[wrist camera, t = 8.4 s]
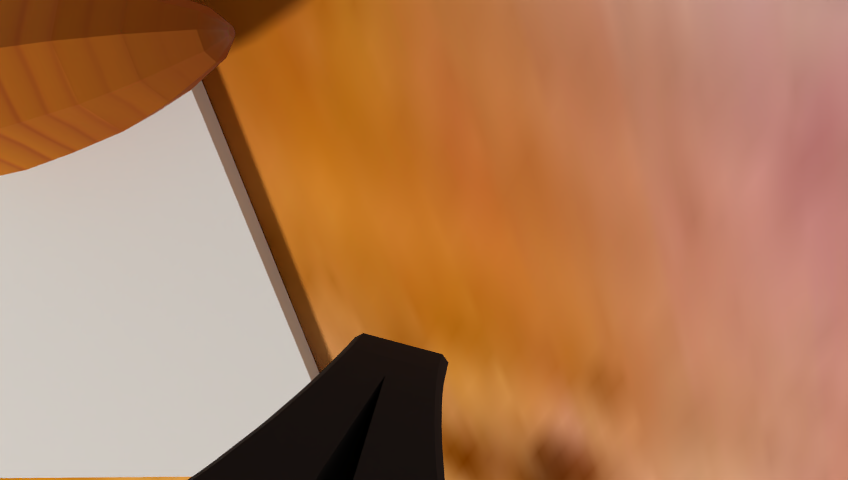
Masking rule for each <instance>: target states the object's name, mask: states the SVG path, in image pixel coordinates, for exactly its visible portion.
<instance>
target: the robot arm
mask: <svg viewBox="0 0 848 480" xmlns="http://www.w3.org/2000/svg"><path fill="white" fill-rule="evenodd" d="M447 366H448V362H447V360H446V359H445V357H444V356H443V355H442V354H439V353H435V352H432V351H428V350H424V349H420V348H417V347H413V346H409V345H405V344H402V343H398V342H394V341H390V340H387V339H383V338H379V337H375V336H372V335H368V334H364V333H363V334H361V335H359V336H357V337H355V338H354V339H353V340H352V341H351V342H350V343H349V345H348V346H347V347H346V348H345V349H344V350H343V351H342V352H341V353H340V354H339V355H338V356H337V357H336V358H335V359H334V360H333V361H332V362H331V363H330V364H329V365H328V366H327V367H326V368H325V369H324V370H323V371H322V372H320V373H319V374H318V375H317V376H316V377H315V378H314V379H313V380H312V381H311V382H310V383H309V384H308V385H306V386H305V387H304V388H303V389H302V390H301V391H300V392H299V393H297V394H296V395H295V396H294V397H293V398H292V399H290V400H289V401H288V402H287V403H286V404H285V405H284V406H282V407H281V408H280V409H279V410H278V411H277V412H275V413H274V414H273V415H272V416H271V417H270V418H268V419H267V420H266V421H265V422H264V423H262V424H261V425H260V426H259V427H257V428H256V429H255V430H254V431H252V432H251V433H250V434H248V435H247V436H246V437H245V438H243V439H242V440H241V441H239V442H238V443H237V444H235V445H234V446H233V447H232V448H230V449H229V450H228V451H226V452H225V453H224V454H222V455H221V456H220V457H219V458H217V459H216V460H215V461H213V462H212V463H211V464H209V465H208V466H206V467H205V468H204V469H202V470H201V471H199V472H198V473H197V474H195V475H194V476H192V477H191V478H190V479H188V480H445V478H444V465H443V451H442V428H441V424H442V393H443V384H444V380H445V375H446V370H447Z"/></svg>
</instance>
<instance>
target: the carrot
mask: <svg viewBox="0 0 848 480" xmlns="http://www.w3.org/2000/svg"><path fill="white" fill-rule="evenodd" d="M234 38H235V30H234V27H233V26H232V25H231V24H230V23H229V22H227V21H226V20H225V19H224V18H222V17H221V16H220V15H219V14H217V13H216V12H215V11H214V10H212V9H211V8H210V7H208V6H205V5H202V4H199V3H197V2H194V1H191V0H0V176H1V175H6V174H10V173H15V172H19V171H24V170H27V169H30V168H33V167H36V166H38V165H41V164H44V163H47V162H49V161H52V160H55V159H57V158H60V157H63V156H66V155H68V154H71V153H74V152H76V151H79V150H81V149H83V148H86V147H88V146H90V145H93V144H95V143H97V142H100V141H102V140H104V139H107V138H109V137H112V136H114V135H116V134H119V133H121V132H123V131H125V130H127V129H129V128H130V127H132V126H134V125H136V124H137V123H139V122H141V121H143V120H144V119H146V118H148V117H150V116H151V115H153V114H155V113H156V112H158V111H160V110H161V109H163V108H164V107H166V106H167V105H169V104H170V103H172V102H173V101H175V100H176V99H178V98H179V97H181V96H182V95H184V94H186V93H187V92H189V91H190V90H191V89H193V88H194V87H195V86H196V85H197V84H198V83H199V82H200V81H201V80H202V79H203V78H205V77H206V76H207V75H208V74H209V73H210V72H211V71H212V70H213V69H214V68H215V67H217V66H218V65H219V64H220V63H221V62H222V61H223V60H224V59H225V58H226V57H227V55H228V52H229V50H230V47H231V45H232V43H233V40H234Z"/></svg>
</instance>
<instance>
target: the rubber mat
mask: <svg viewBox="0 0 848 480" xmlns="http://www.w3.org/2000/svg"><path fill="white" fill-rule="evenodd" d="M318 374H319V371H318V368H317V366H316V363H315V361H314V358H313V356H312V353H311V351H310V348H309V346H308V343H307V341H306V338H305V336H304V333H303V331H302V329H301V326H300V324H299V321H298V319H297V316H296V314H295V311H294V309H293V306H292V304H291V301H290V299H289V296H288V294H287V291H286V289H285V286H284V284H283V281H282V279H281V276H280V274H279V271H278V269H277V266H276V264H275V261H274V259H273V256H272V254H271V252H270V249H269V247H268V244H267V242H266V239H265V237H264V234H263V232H262V229H261V227H260V224H259V222H258V219H257V217H256V214H255V212H254V209H253V207H252V204H251V202H250V199H249V197H248V194H247V192H246V189H245V187H244V184H243V182H242V180H241V177H240V175H239V172H238V170H237V167H236V165H235V162H234V160H233V157H232V155H231V152H230V150H229V147H228V145H227V142H226V140H225V137H224V135H223V132H222V130H221V127H220V125H219V122H218V120H217V117H216V115H215V112H214V110H213V108H212V105H211V103H210V100H209V98H208V95H207V93H206V90H205V88H204V85H203V83H202V80H201V81H200V82H199V83H198V84H197V85H196V86H195V87H194V88H193V89H191V90H190V91H189V92H187V93H186V94H184V95H182V96H181V97H179V98H178V99H176V100H175V101H173V102H172V103H170V104H169V105H167V106H166V107H164V108H163V109H161V110H160V111H158V112H156V113H155V114H153V115H151V116H150V117H148V118H146V119H144V120H143V121H141V122H139V123H137V124H136V125H134V126H132V127H130V128H129V129H127V130H125V131H123V132H121V133H119V134H116V135H114V136H112V137H109V138H107V139H104V140H102V141H100V142H97V143H95V144H93V145H90V146H88V147H86V148H83V149H81V150H79V151H76V152H74V153H71V154H68V155H66V156H63V157H60V158H57V159H55V160H52V161H49V162H47V163H44V164H41V165H38V166H36V167H33V168H30V169H27V170H24V171H19V172H15V173H10V174H6V175H1V176H0V478H62V477H186V476H194V475H195V474H197V473H198V472H199V471H201V470H202V469H204V468H205V467H206V466H208V465H209V464H211V463H212V462H213V461H215V460H216V459H217V458H219V457H220V456H221V455H222V454H224V453H225V452H226V451H228V450H229V449H230V448H232V447H233V446H234V445H235V444H237V443H238V442H239V441H241V440H242V439H243V438H245V437H246V436H247V435H248V434H250V433H251V432H252V431H254V430H255V429H256V428H257V427H259V426H260V425H261V424H262V423H264V422H265V421H266V420H267V419H268V418H270V417H271V416H272V415H273V414H274V413H275V412H277V411H278V410H279V409H280V408H281V407H282V406H284V405H285V404H286V403H287V402H288V401H289V400H290V399H292V398H293V397H294V396H295V395H296V394H297V393H299V392H300V391H301V390H302V389H303V388H304V387H305V386H306V385H308V384H309V383H310V382H311V381H312V380H313V379H314V378H315V377H316V376H317V375H318Z"/></svg>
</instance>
